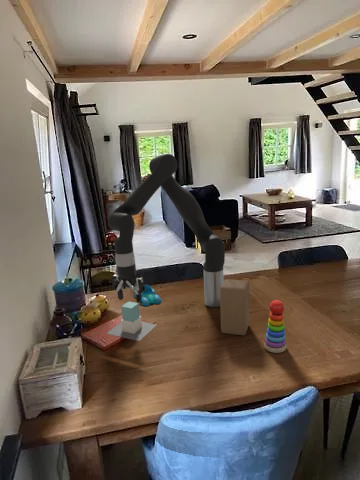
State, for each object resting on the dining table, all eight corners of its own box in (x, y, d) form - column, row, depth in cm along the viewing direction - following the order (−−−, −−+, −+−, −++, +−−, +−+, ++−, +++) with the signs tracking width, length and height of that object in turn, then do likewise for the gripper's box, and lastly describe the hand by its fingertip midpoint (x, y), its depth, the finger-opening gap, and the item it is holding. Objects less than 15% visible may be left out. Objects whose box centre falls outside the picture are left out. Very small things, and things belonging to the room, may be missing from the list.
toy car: (152, 290, 194) (151, 278, 192) (163, 303, 178) (162, 290, 176) (132, 294, 190) (131, 282, 188) (142, 308, 174) (141, 295, 172)
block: (249, 324, 152) (249, 279, 147) (245, 336, 143) (245, 289, 138) (225, 322, 155) (224, 278, 150) (220, 333, 146) (219, 287, 141)
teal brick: (139, 316, 152) (138, 303, 150) (132, 321, 147) (131, 308, 146) (129, 314, 154) (128, 301, 152) (122, 319, 150) (121, 306, 148)
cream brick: (142, 327, 153) (141, 316, 152) (134, 333, 148) (133, 322, 147) (130, 324, 156) (129, 313, 155) (122, 331, 151) (120, 320, 149)
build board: (157, 326, 155) (157, 324, 154) (139, 343, 143) (139, 341, 142) (126, 320, 162) (126, 318, 161) (106, 335, 150) (106, 333, 150)
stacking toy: (282, 356, 129) (283, 307, 124) (261, 350, 133) (261, 303, 128) (289, 345, 135) (290, 298, 131) (268, 340, 140) (268, 295, 135)
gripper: (146, 261, 144) (149, 299, 148) (116, 258, 150) (120, 294, 155) (135, 267, 138) (139, 306, 142) (105, 264, 144) (110, 302, 148)
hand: (129, 300), depth 148 cm, fingers open, 8 cm apart
